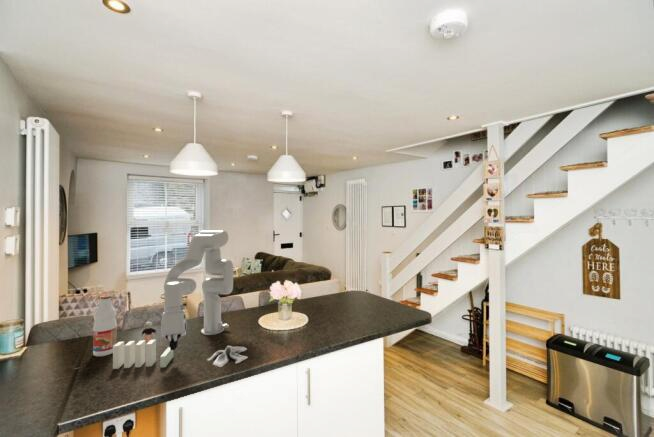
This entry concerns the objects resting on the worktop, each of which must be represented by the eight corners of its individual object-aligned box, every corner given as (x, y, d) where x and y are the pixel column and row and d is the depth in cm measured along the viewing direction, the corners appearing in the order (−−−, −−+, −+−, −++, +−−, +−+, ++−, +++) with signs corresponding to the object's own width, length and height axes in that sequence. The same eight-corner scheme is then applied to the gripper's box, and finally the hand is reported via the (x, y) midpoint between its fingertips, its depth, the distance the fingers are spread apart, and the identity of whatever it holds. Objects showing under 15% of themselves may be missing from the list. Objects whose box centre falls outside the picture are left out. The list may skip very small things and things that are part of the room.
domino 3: (145, 361, 138) (145, 340, 138) (140, 367, 133) (140, 344, 133) (140, 362, 138) (140, 340, 138) (135, 367, 133) (135, 344, 133)
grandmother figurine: (139, 348, 152) (139, 323, 152) (140, 346, 156) (140, 321, 156) (157, 345, 156) (157, 321, 156) (157, 343, 159) (157, 319, 159)
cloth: (244, 346, 157) (244, 334, 157) (254, 360, 140) (254, 347, 140) (198, 355, 146) (198, 343, 146) (203, 372, 129) (203, 358, 129)
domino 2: (135, 362, 138) (135, 340, 138) (129, 367, 133) (129, 345, 133) (129, 362, 137) (129, 341, 137) (124, 368, 132) (124, 345, 132)
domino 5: (173, 346, 143) (165, 356, 133) (173, 357, 143) (165, 367, 133) (168, 347, 143) (160, 356, 133) (168, 357, 143) (160, 367, 133)
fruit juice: (121, 350, 151) (121, 294, 151) (101, 358, 142) (101, 299, 142) (108, 347, 154) (108, 292, 154) (88, 354, 145) (88, 297, 146)
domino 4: (156, 361, 139) (156, 339, 139) (151, 366, 134) (151, 343, 134) (150, 361, 139) (150, 339, 139) (146, 366, 134) (146, 344, 134)
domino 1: (124, 363, 137) (124, 341, 137) (118, 368, 132) (118, 345, 132) (119, 363, 137) (119, 341, 137) (113, 368, 132) (113, 346, 132)
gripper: (193, 305, 143) (193, 344, 143) (159, 307, 140) (159, 346, 140) (188, 310, 135) (188, 351, 135) (152, 312, 133) (152, 353, 133)
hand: (173, 348), depth 138 cm, fingers closed
